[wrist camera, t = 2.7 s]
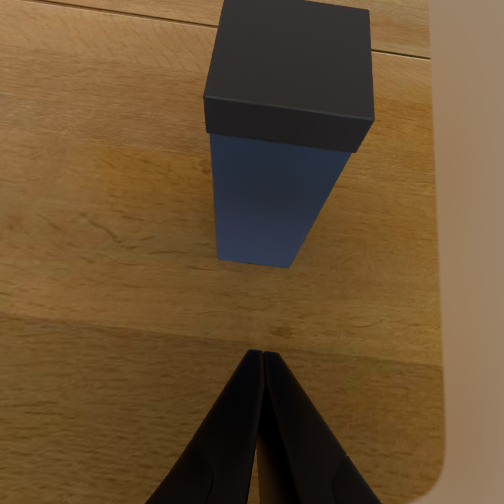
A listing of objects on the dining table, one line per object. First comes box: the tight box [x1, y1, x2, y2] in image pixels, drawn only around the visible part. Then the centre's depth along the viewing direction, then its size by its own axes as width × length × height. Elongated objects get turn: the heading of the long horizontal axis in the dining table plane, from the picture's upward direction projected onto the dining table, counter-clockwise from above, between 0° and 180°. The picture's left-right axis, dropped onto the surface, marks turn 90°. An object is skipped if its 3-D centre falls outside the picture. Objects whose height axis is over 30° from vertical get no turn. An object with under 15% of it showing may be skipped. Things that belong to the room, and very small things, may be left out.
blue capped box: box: [203, 0, 375, 268], centre depth 17 cm, size 5×5×14 cm
